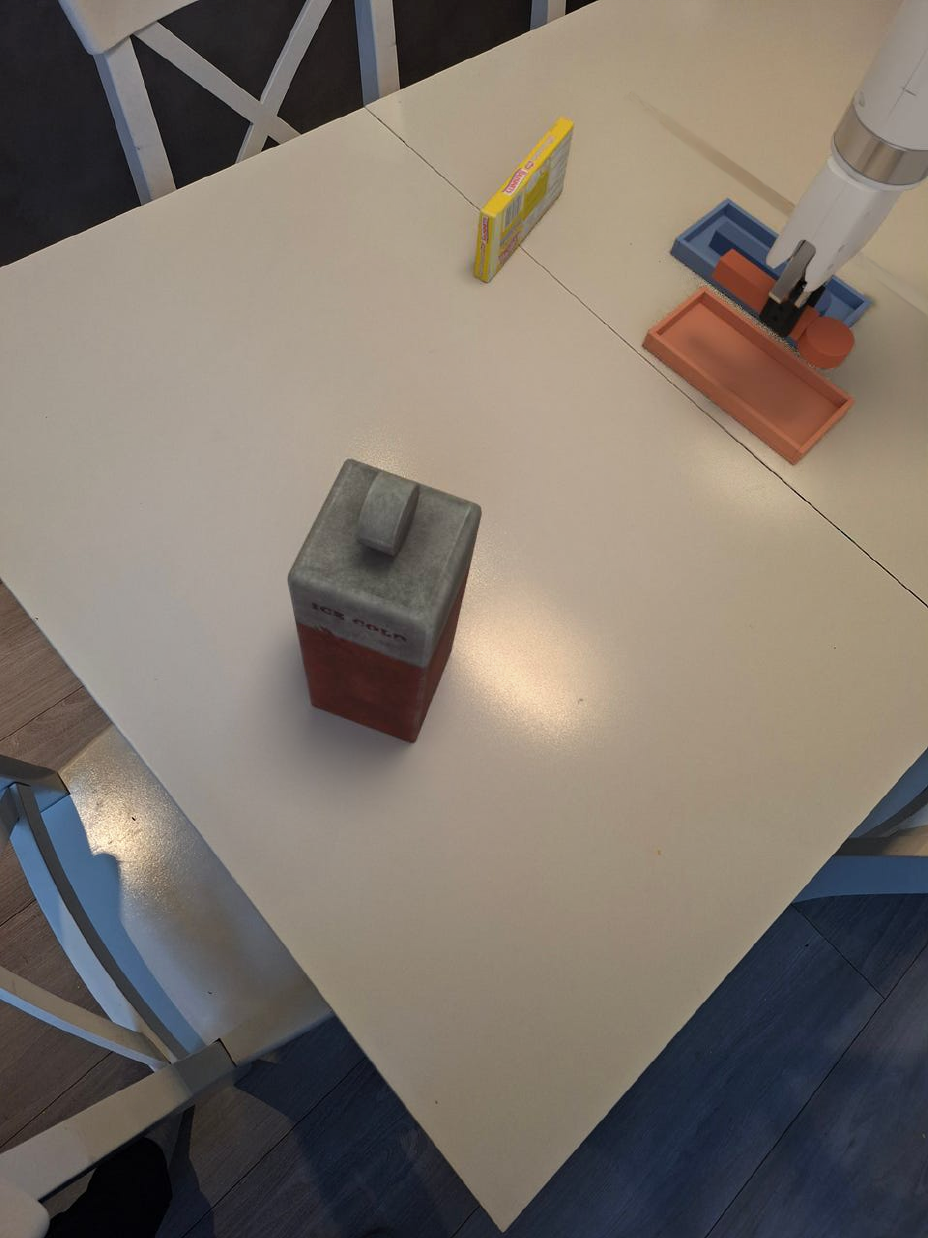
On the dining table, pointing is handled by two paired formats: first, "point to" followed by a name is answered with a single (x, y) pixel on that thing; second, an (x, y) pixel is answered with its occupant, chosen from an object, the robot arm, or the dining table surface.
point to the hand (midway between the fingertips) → (782, 318)
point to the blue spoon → (755, 257)
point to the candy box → (522, 200)
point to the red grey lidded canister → (381, 596)
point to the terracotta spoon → (816, 336)
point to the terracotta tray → (748, 374)
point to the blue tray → (704, 259)
